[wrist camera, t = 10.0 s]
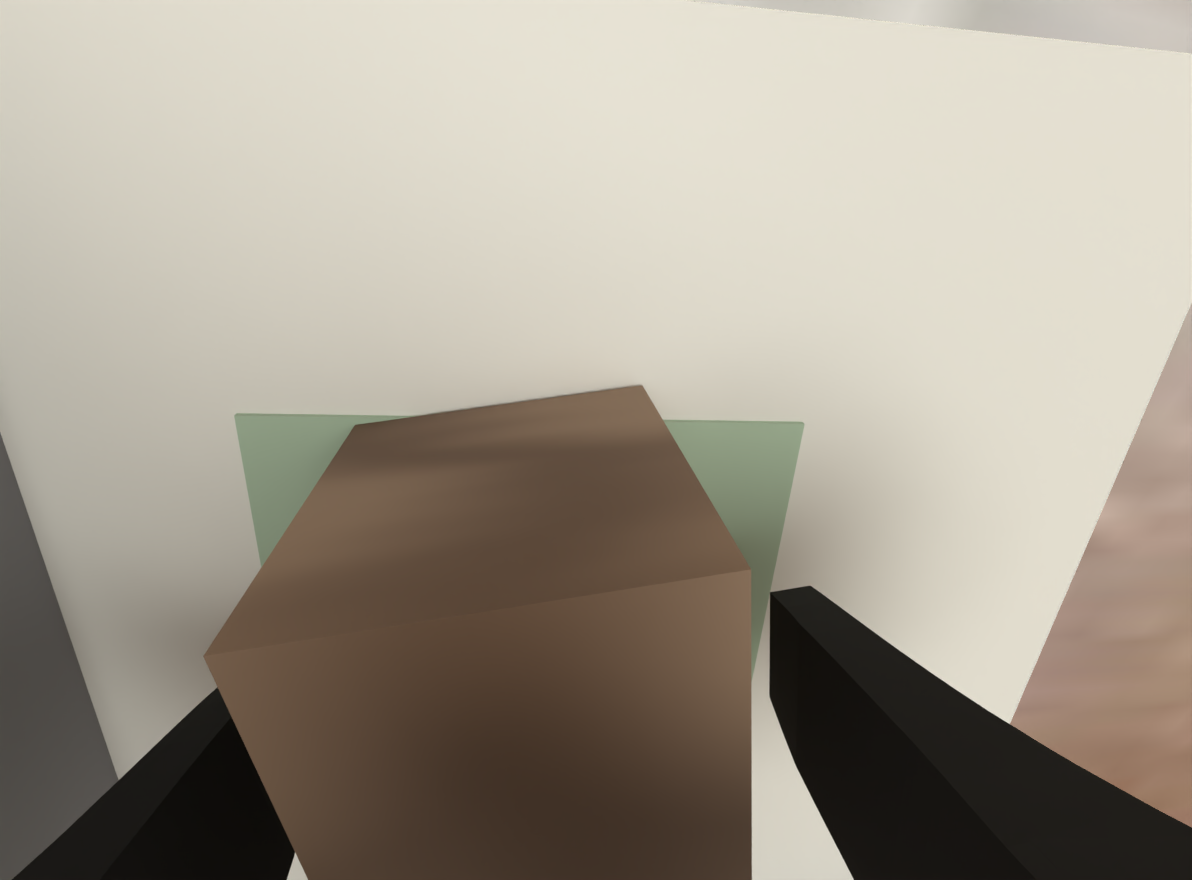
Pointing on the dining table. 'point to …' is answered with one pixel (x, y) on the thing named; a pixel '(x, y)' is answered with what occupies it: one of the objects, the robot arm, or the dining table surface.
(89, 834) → the robot arm
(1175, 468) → the dining table surface
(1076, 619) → the dining table surface
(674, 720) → the walnut block
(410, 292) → the arena
